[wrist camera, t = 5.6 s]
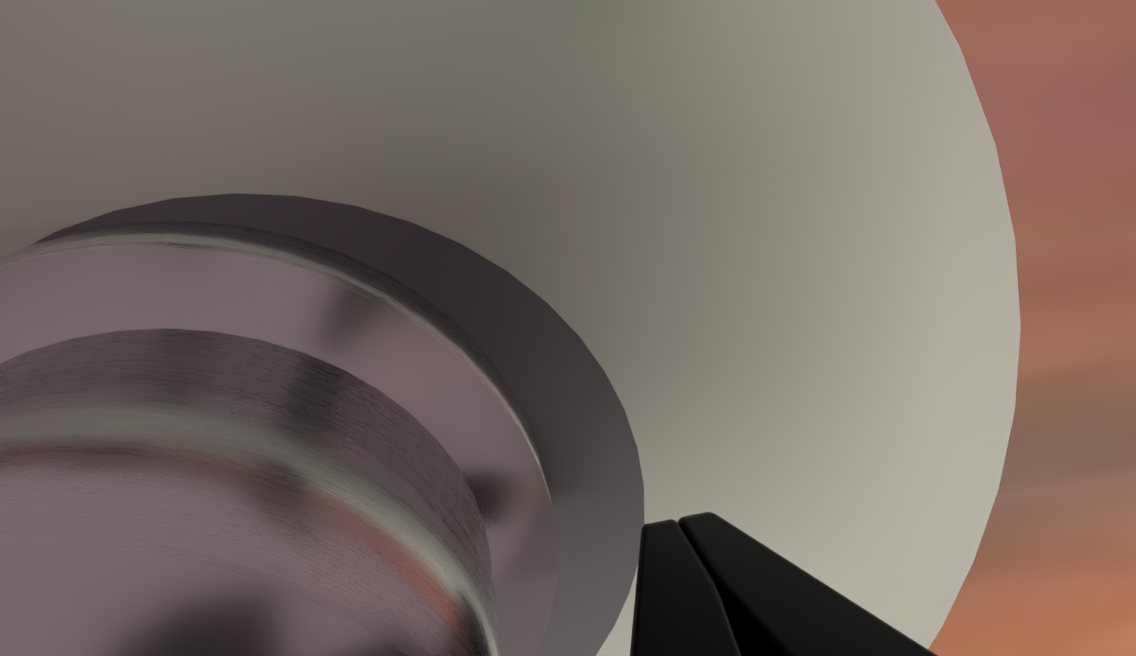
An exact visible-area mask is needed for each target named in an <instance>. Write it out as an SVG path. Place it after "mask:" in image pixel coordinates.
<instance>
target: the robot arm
mask: <svg viewBox="0 0 1136 656" xmlns="http://www.w3.org/2000/svg"><path fill="white" fill-rule="evenodd" d="M630 656H938V655H936V654H934V653H933V652H931V651H930V650H928V649H927V648H925V647H923V646H922V645H920V644H919V643H917V642H916V641H914V640H912V639H911V638H909V637H908V636H906V635H905V634H903V633H902V632H900V631H898V630H897V629H895V628H894V627H892V626H891V625H889V624H887V623H886V622H884V621H883V620H881V619H880V618H878V617H876V616H875V615H873V614H872V613H870V612H869V611H867V610H865V609H864V608H862V607H861V606H859V605H858V604H856V603H854V602H853V601H851V600H850V599H848V598H847V597H845V596H844V595H842V594H840V593H839V592H837V591H836V590H834V589H833V588H831V587H829V586H828V585H826V584H825V583H823V582H822V581H820V580H818V579H817V578H815V577H814V576H812V575H811V574H809V573H807V572H806V571H804V570H803V569H801V568H800V567H798V566H797V565H795V564H793V563H792V562H790V561H789V560H787V559H786V558H784V557H782V556H781V555H779V554H778V553H776V552H775V551H773V550H771V549H770V548H768V547H767V546H765V545H764V544H762V543H760V542H759V541H757V540H756V539H754V538H753V537H751V536H749V535H748V534H746V533H745V532H743V531H742V530H740V529H739V528H737V527H735V526H734V525H732V524H731V523H729V522H728V521H726V520H724V519H723V518H721V517H720V516H718V515H717V514H715V513H712V512H703V513H698V514H693V515H688V516H683V517H681V518H680V519H679V520H678V522H677V521H675V520H673V519H668V520H663V521H658V522H653V523H648V524H645V525H644V526H643V527H642V529H641V537H640V548H639V559H638V570H637V581H636V592H635V602H634V613H633V624H632V635H631V646H630Z"/></svg>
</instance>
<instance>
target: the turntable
mask: <svg viewBox="0 0 1136 656" xmlns="http://www.w3.org/2000/svg"><path fill="white" fill-rule="evenodd" d="M166 221H196V222H207V223H217V224H228V225H239V226H246V227H251V228H255V229H260V230H265V231H269V232H274V233H279V234H284V235H288V236H293V237H297V238H300V239H303V240H306V241H309V242H311V243H314V244H317V245H320V246H323V247H326V248H329V249H332V250H335V251H338V252H341V253H344V254H346V255H348V256H350V257H352V258H354V259H356V260H359V261H361V262H363V263H365V264H367V265H369V266H371V267H373V268H375V269H377V270H380V271H382V272H384V273H386V274H388V275H390V276H391V277H393V278H394V279H396V280H397V281H399V282H401V283H402V284H404V285H405V286H407V287H408V288H410V289H412V290H413V291H415V292H416V293H418V294H419V295H421V296H423V297H424V298H426V299H427V300H429V301H430V302H431V303H432V304H434V305H435V306H436V307H437V308H438V309H440V310H441V311H442V312H443V313H444V314H446V315H447V316H448V317H449V318H450V319H452V320H453V321H454V322H455V323H456V324H458V325H459V326H460V327H461V328H462V329H463V330H464V331H465V332H466V333H467V334H468V335H469V336H470V337H471V338H472V339H473V341H474V342H475V343H476V344H477V345H478V346H479V347H480V348H481V349H482V350H483V351H484V353H485V354H486V355H487V356H488V357H489V358H490V359H491V360H492V362H493V363H494V365H495V366H496V367H497V369H498V370H499V372H500V373H501V375H502V376H503V378H504V379H505V381H506V382H507V383H508V385H509V386H510V388H511V389H512V391H513V392H514V394H515V396H516V398H517V400H518V402H519V404H520V406H521V408H522V410H523V412H524V414H525V416H526V418H527V420H528V422H529V424H530V426H531V430H532V433H533V436H534V439H535V442H536V445H537V448H538V451H539V455H540V458H541V461H542V465H543V469H544V474H545V478H546V482H547V486H548V490H549V494H550V499H551V503H552V507H553V514H554V520H555V527H556V533H557V540H558V578H557V584H556V590H555V596H554V602H553V608H552V613H551V616H550V619H549V622H548V625H547V628H546V631H545V634H544V637H543V640H542V643H541V646H540V647H539V649H538V651H537V653H536V655H535V656H630V646H631V635H632V624H633V613H634V602H635V592H636V581H637V570H638V559H639V548H640V537H641V529H642V527H643V526H644V525H645V524H648V523H653V522H658V521H663V520H668V519H673V520H675V521H677V522H678V520H679V519H680V518H681V517H683V516H688V515H693V514H698V513H703V512H712V513H715V514H717V515H718V516H720V517H721V518H723V519H724V520H726V521H728V522H729V523H731V524H732V525H734V526H735V527H737V528H739V529H740V530H742V531H743V532H745V533H746V534H748V535H749V536H751V537H753V538H754V539H756V540H757V541H759V542H760V543H762V544H764V545H765V546H767V547H768V548H770V549H771V550H773V551H775V552H776V553H778V554H779V555H781V556H782V557H784V558H786V559H787V560H789V561H790V562H792V563H793V564H795V565H797V566H798V567H800V568H801V569H803V570H804V571H806V572H807V573H809V574H811V575H812V576H814V577H815V578H817V579H818V580H820V581H822V582H823V583H825V584H826V585H828V586H829V587H831V588H833V589H834V590H836V591H837V592H839V593H840V594H842V595H844V596H845V597H847V598H848V599H850V600H851V601H853V602H854V603H856V604H858V605H859V606H861V607H862V608H864V609H865V610H867V611H869V612H870V613H872V614H873V615H875V616H876V617H878V618H880V619H881V620H883V621H884V622H886V623H887V624H889V625H891V626H892V627H894V628H895V629H897V630H898V631H900V632H902V633H903V634H905V635H906V636H908V637H909V638H911V639H912V640H914V641H916V642H917V643H919V644H920V645H922V646H923V647H925V648H927V649H928V648H929V647H930V645H931V644H932V642H933V640H934V639H935V637H936V636H937V634H938V632H939V631H940V629H941V628H942V626H943V624H944V622H945V620H946V618H947V615H948V613H949V611H950V609H951V607H952V605H953V603H954V601H955V599H956V597H957V595H958V593H959V591H960V589H961V586H962V584H963V582H964V580H965V578H966V576H967V574H968V572H969V570H970V568H971V566H972V564H973V562H974V559H975V556H976V553H977V550H978V547H979V544H980V541H981V539H982V536H983V533H984V530H985V527H986V524H987V521H988V518H989V515H990V512H991V509H992V506H993V504H994V501H995V498H996V495H997V492H998V489H999V484H1000V479H1001V474H1002V470H1003V465H1004V460H1005V455H1006V450H1007V446H1008V441H1009V436H1010V431H1011V426H1012V421H1013V417H1014V412H1015V399H1016V385H1017V371H1018V358H1019V344H1020V330H1021V325H1020V310H1019V294H1018V278H1017V263H1016V247H1015V237H1014V232H1013V227H1012V222H1011V218H1010V213H1009V208H1008V203H1007V198H1006V193H1005V189H1004V184H1003V179H1002V174H1001V169H1000V164H999V160H998V155H997V150H996V145H995V142H994V140H993V137H992V134H991V131H990V129H989V126H988V123H987V120H986V118H985V115H984V112H983V109H982V107H981V104H980V101H979V98H978V96H977V93H976V90H975V87H974V85H973V82H972V79H971V76H970V74H969V71H968V68H967V65H966V62H965V60H964V57H963V54H962V51H961V49H960V46H959V44H958V43H957V41H956V39H955V37H954V35H953V33H952V31H951V30H950V28H949V26H948V24H947V22H946V20H945V18H944V17H943V15H942V13H941V11H940V9H939V7H938V5H937V3H936V2H935V0H0V258H1V257H3V256H6V255H8V254H10V253H12V252H15V251H17V250H19V249H21V248H24V247H26V246H28V245H31V244H35V243H38V242H42V241H45V240H49V239H52V238H56V237H59V236H63V235H66V234H70V233H73V232H77V231H80V230H87V229H93V228H100V227H107V226H113V225H120V224H127V223H133V222H166Z"/></svg>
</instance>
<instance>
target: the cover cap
mask: <svg viewBox="0 0 1136 656" xmlns="http://www.w3.org/2000/svg"><path fill="white" fill-rule="evenodd" d="M557 578H558V540H557V533H556V527H555V520H554V514H553V507H552V503H551V499H550V494H549V490H548V486H547V482H546V478H545V474H544V469H543V465H542V461H541V458H540V455H539V451H538V448H537V445H536V442H535V439H534V436H533V433H532V430H531V426H530V424H529V422H528V420H527V418H526V416H525V414H524V412H523V410H522V408H521V406H520V404H519V402H518V400H517V398H516V396H515V394H514V392H513V391H512V389H511V388H510V386H509V385H508V383H507V382H506V381H505V379H504V378H503V376H502V375H501V373H500V372H499V370H498V369H497V367H496V366H495V365H494V363H493V362H492V360H491V359H490V358H489V357H488V356H487V355H486V354H485V353H484V351H483V350H482V349H481V348H480V347H479V346H478V345H477V344H476V343H475V342H474V341H473V339H472V338H471V337H470V336H469V335H468V334H467V333H466V332H465V331H464V330H463V329H462V328H461V327H460V326H459V325H458V324H456V323H455V322H454V321H453V320H452V319H450V318H449V317H448V316H447V315H446V314H444V313H443V312H442V311H441V310H440V309H438V308H437V307H436V306H435V305H434V304H432V303H431V302H430V301H429V300H427V299H426V298H424V297H423V296H421V295H419V294H418V293H416V292H415V291H413V290H412V289H410V288H408V287H407V286H405V285H404V284H402V283H401V282H399V281H397V280H396V279H394V278H393V277H391V276H390V275H388V274H386V273H384V272H382V271H380V270H377V269H375V268H373V267H371V266H369V265H367V264H365V263H363V262H361V261H359V260H356V259H354V258H352V257H350V256H348V255H346V254H344V253H341V252H338V251H335V250H332V249H329V248H326V247H323V246H320V245H317V244H314V243H311V242H309V241H306V240H303V239H300V238H297V237H293V236H288V235H284V234H279V233H274V232H269V231H265V230H260V229H255V228H251V227H246V226H239V225H228V224H217V223H207V222H196V221H166V222H133V223H127V224H120V225H113V226H107V227H100V228H93V229H87V230H80V231H77V232H73V233H70V234H66V235H63V236H59V237H56V238H52V239H49V240H45V241H42V242H38V243H35V244H31V245H28V246H26V247H24V248H21V249H19V250H17V251H15V252H12V253H10V254H8V255H6V256H3V257H1V258H0V656H535V655H536V653H537V651H538V649H539V647H540V646H541V643H542V640H543V637H544V634H545V631H546V628H547V625H548V622H549V619H550V616H551V613H552V608H553V602H554V596H555V590H556V584H557Z"/></svg>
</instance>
